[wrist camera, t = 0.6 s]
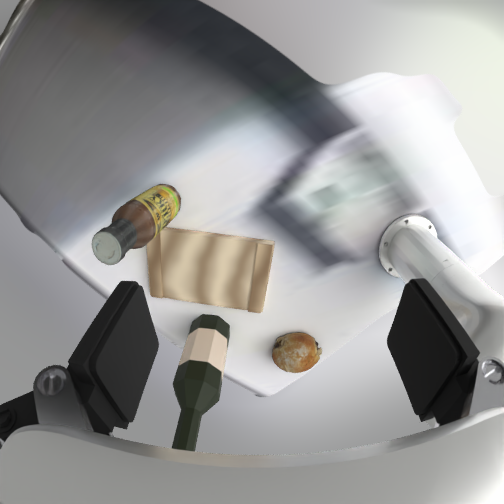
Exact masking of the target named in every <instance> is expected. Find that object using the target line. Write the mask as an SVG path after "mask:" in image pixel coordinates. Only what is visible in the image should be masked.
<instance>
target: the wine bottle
mask: <svg viewBox="0 0 504 504" xmlns="http://www.w3.org/2000/svg"><path fill="white" fill-rule="evenodd" d="M229 329H230V325H229V324H228V323H226V322H225V321H224V320H223V319H222V318H220V317H219V316H215V315H205V314H203V315H201V316H200V317H198V318H197V319H196V320H194V321H193V322H192V325H191V328H190V331H189V334H188V337H187V340H186V344H185V347H184V350H183V353H182V356H181V359H180V362H179V365H178V369H177V372H176V375H175V378H174V381H173V387H174V391H175V395H176V397H177V400H178V402H179V405H180V408H181V413H180V417H179V421H178V425H177V429H176V433H175V437H174V441H173V445H172V449H178V450H185V451H193V452H195V447H196V442H197V437H198V432H199V427H200V421H201V416H202V415H203V414H204V413H205V412H207V411H208V410H209V409H210V408H211V407H212V406H213V405H215V404H216V403H217V402H218V401H219V397H220V391H221V385H222V379H223V373H224V367H225V361H226V354H227V348H228V342H229Z"/></svg>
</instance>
